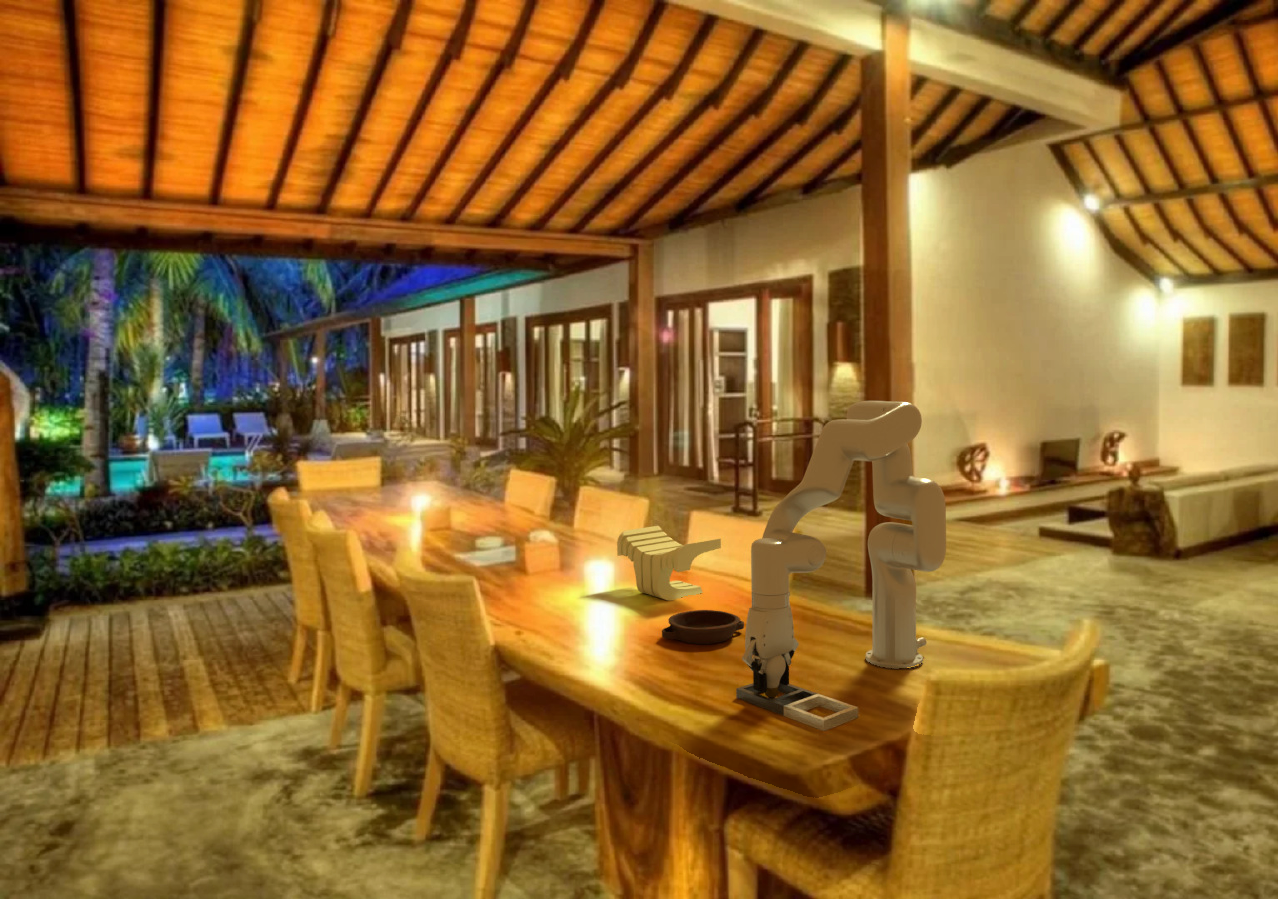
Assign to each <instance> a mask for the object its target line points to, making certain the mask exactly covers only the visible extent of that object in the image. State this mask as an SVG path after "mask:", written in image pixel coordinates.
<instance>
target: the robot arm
mask: <svg viewBox="0 0 1278 899" xmlns="http://www.w3.org/2000/svg"><path fill="white" fill-rule="evenodd" d="M921 414H922V413H921V412H920V410H919V409H918V407H917V406H916V405H915V404H912V403H911V402H907V401H889V400H888V401H886V400H862V401H857V402H855V403H853V404H851V405H850V406H849V407H848V409H847V411H846V419H844V418H843V419H842V418H841V419H833V420H831V421H828V422H827V423H825V424H824V426H823V427H822V429H821V431H820V434H819V437H818V439H817V441H816V444H815V447H814V449H813V452H812V454H811V457H810V460H809V463H808V464H807V468H806V470H805V473H804V474H803V475H804V476H803V478H802V480H801V482H800V483H799V484H798V485H797V486H795V487H794V488H793V489H792V490H791V491H789V493H787V495H786V496H785V497H784V498H783V499H782V500H781V501H780V502H779V503H778V504H777V505H776V506H775V508H774V509H773V510H772V512H771V514H770V516H769V518H768V520H767V523H766V524H765V528H764V531H763V534H762V538H758V539H755V540H754V541H753V542H752V543H751V546H750V563H751V564H750V566H751V567H750V570H751V571H750V572H751V573H750V574H751V575H750V577H751V584H750V585H751V607H749V608H748V613H747V617H746V624H745V625H746V626H745V638H744V641H745V642H744V648H745V650H744V653H743V655H742V657H741V659H742V661H743V662H744V663H745V664H746V665H747V666H748V667H749V669H750V671H752V674H753V675H752V680H753V681H752V683H753V688H754V690H757V691H760V693H763V694H765V692H767V674H766V673H764V671H765V667H766V662H767V659H769V658H772V657H775V656H778V655H782V656H783V658H784V660H785V663H786V668H785V672H784V673H783V675H782V677H781V679H780V682H779V683H781V684H784V685H789V684H790V665H791V664H792V659H793V657H794V656H795V653H796V650H797V649H798V647H799V645H800V644H799V641H797V639H796V638H795V630H794V620H793V613H792V608H791V604H790V596H791V591H790V574H796V573H797V574H798V573H801V574H805V573H812V572H815V571H817V570H818V569H820V568H821V567H822V566H823V564H824V563H825V561H826V557H827V550H826V546H825V545H824V543H823V542H822V541H821V540H820V539H818V538H817V537H814V536H812V535H807V534H802V533H798V532H794V530H795V528H796V526H797V524H798V523H799V522H800V521H801V520H802V518H803V517H805V516H806V515H807V514H809V513H810V512H811V511H813V510H815V509H818V508H820V507H823V506H825V505H827V504H830V503H833V502H834V501H836V500H838V499H839V498H840V497H841V496H842V493H843V491H844V488H845V485H846V483H847V479H848V477H849V475H850V472H851V469H852V467H853V464H854V461H860V462H871V463H872V464H871V466H872V491H873V492H872V495H873V496H872V497H873V505H874V509H875V510H876V512H877V513H878V514H879V515H880V516H881V515H882V516H884V517H888V518H891V519H899V520H905V521H909V522H910V521H911V523H912V524H907V523H906V524H905V523H900V522H893V521H890V522H881V523H879V524H876V526H874V527H872V529H871V530H870V532H869V535H868V537H867V538H868V539H867V550H868V556H869V561H870V566H871V576H872V594H871V595H872V604H871V605H872V607H871V608H872V609H871V610H872V611H871V612H872V614H871V615H872V626H871V627H872V632H871V633H872V636H871V637H872V644H871V645H872V647H871V648H872V649H869V650H868V651H866V653H865V661H867V663H869V662H870V663H871V664H870V663H869V664H870V665H873V664H874V665H873V666H875V665H877V666H876V667H879V666H880V668H883V667H885V668H884V669H891V668H892V670H900V669H899V668H907V667H911V666H915V665H917V664H920V663H922V661H923V662H924V657H923V655H922V654H921V653H919V652H918V649H919V648H922V647H924V646H926V645H927V639H926V638H925V637H919V638H917V584H916V579H915V577H914V574H913V571H912V570H914V571H919V572H924V573H927V572H928V573H930V572H934V571H935V572H936V570H938V569H940V567H941V566H942V565H943V563H944V562H945V558H946V552H947V515H946V514H947V513H946V512H947V510H946V507H947V506H946V498H945V494H944V492H943V489H942V488H941V486H940V485H939V484H938V483H937V482H936V481H934V480H932V479H929V478H926V477H925V478H924V477H916V476H914V474H913V465H912V462H913V461H912V454H911V449H910V447H909V445H908V444H909V443H910V442H912V441H913V440H915V438H917V436H918V434H919V432H920V431H921V427H922V422H923V420H922V419H923V418H922V415H921ZM758 660H761V662H760V665H759V664H758ZM922 664H923V663H922Z"/></svg>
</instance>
